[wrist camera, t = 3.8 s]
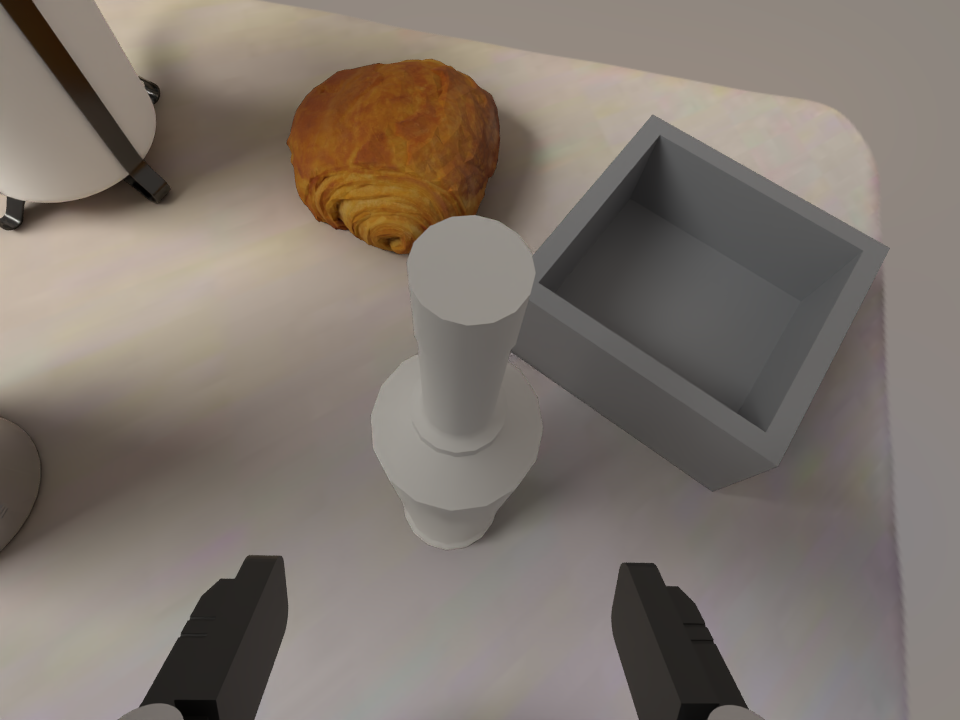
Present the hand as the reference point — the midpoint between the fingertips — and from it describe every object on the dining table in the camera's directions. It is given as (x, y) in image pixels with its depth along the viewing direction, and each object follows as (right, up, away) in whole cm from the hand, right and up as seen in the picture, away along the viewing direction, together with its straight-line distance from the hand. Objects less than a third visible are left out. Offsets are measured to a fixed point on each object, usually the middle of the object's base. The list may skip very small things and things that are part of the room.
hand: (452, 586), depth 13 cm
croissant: (-5, +19, +28) cm, 34 cm away
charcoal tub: (+13, +8, +24) cm, 28 cm away
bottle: (-1, -3, +19) cm, 19 cm away
